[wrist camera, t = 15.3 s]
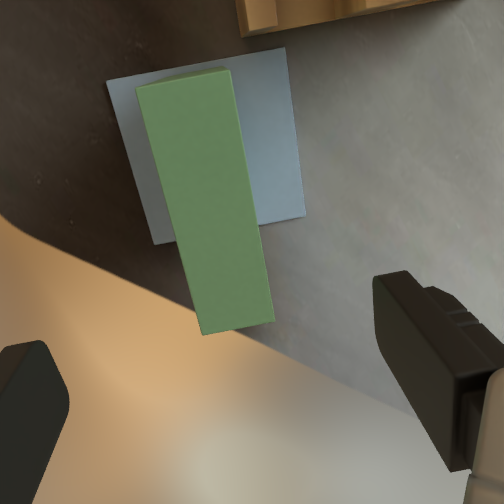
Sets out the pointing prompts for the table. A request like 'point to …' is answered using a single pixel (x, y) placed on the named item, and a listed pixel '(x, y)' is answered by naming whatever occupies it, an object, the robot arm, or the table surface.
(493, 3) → the table surface
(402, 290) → the robot arm
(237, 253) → the green book
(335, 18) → the book rack
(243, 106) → the felt pad
